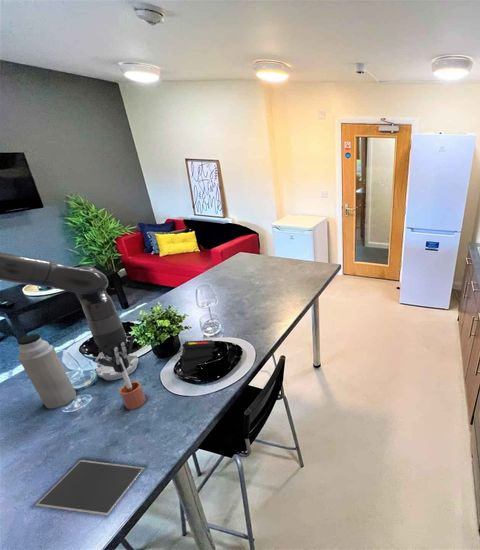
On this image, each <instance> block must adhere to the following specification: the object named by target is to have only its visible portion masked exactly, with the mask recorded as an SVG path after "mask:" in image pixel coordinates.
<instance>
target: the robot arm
mask: <svg viewBox="0 0 480 550" xmlns="http://www.w3.org/2000/svg"><path fill="white" fill-rule="evenodd" d="M0 281H2V282H7V283H14V284H20V285H28V286H34V287H35V286H36V287H45V288H52V289H57V290H61V291H65V292H69V293H74V294H75V295H76V297H77V299H78V300H79V302H80V304H81V307H82V311H83V313H84V315H85V318H86V321H87V325H88V329H89V331H90V333H91V335H92V338H93V340H94V343H95V344H96V346H97V347H98V355H97V356H96V357H93V358H92V362H93V363H97V364H98V363H99V364H101V365H104V366H110V367H113V368H114V370H115V372H119V373H122V372H123V371H124V369H123V366H122V364H121V363H120V360H119V357H121V358H122V361H123V363H124V366H125V369H127V368H128V367H129V362H128V359H127V357H128V354H132V351H133V346H134V341H135V336H132V335H126V331H125V328H124V325H123V323H122V319H121V317H120V315H119V313H118V312H117V308H116V306H115V303H114V301H113V298H112V297H111V296H110V295H109V294H108V293H107V288H108V287H109V279H108V278H107V275H105V274H104V273H103V272H102V271H100V270H98V269H97V268H96V267H93V266H89V265H82V266H77V267H71V266H67V265H64V264H62V263H60V262H56V261H52V260H48V259H47V260H46V259H42V258H37V257H30V256H25V255H18V254H14V253H7V252H1V251H0ZM108 359H109V361H108Z"/></svg>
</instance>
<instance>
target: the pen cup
mask: <svg viewBox="0 0 480 550" xmlns="http://www.w3.org/2000/svg"><path fill="white" fill-rule="evenodd" d="M130 382H131V385H132V390H129V389H127V387H126V384H124V385H123V386H122V387H120V389H119V394H120V397H121V399H122V402H123V404H124V407H125V408H126V409H127V410H134V409H137V408H139V407H141V406H142V405H143V404H144V403H145V402H146V400H147V398H146V395H145V392H144V389H143V387H142V385H141V383H140V382H139V381H130Z"/></svg>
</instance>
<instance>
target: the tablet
mask: <svg viewBox="0 0 480 550" xmlns="http://www.w3.org/2000/svg"><path fill="white" fill-rule="evenodd" d="M144 470H145V467H144V466H134V465H126V464H117V463H110V462H101V461H92V460H86V459H85V460H84V459H80V460H79V461H78V462H77V463H76V464H75V465H74V466H73V467H72V468H71V469H70V470H69V471H68V472H67V473H66V474H65V475H63V477H62V478H61V479H60V480H59V481H57V483H56V484H55V485H54V486H53V487H52V488H51V489H50V490H49V491H48V492H47V493H46V494H45V495H44V496H43V497H42V498H40V500H38V501H37V503H36V504H34V506H35V507H41V508H48V509H56V510H63V511H71V512H79V513H85V514H92V515H99V516H100V515H101V516H108V515H109V514H110V513H111V511H112V510H113V509H114V507H116V505H117V504H118V502H119V501H120V500H121V499H122V498H123V496H124V495H125V493H126V492H127V491H128V490H129V488H130V487H131V486H132V484H133V483H134V482H135V481H136V479H137V478H138V477H139V476H140V474H141V473H142V472H143V471H144Z"/></svg>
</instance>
